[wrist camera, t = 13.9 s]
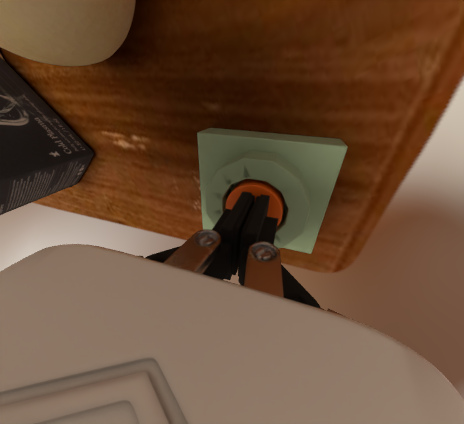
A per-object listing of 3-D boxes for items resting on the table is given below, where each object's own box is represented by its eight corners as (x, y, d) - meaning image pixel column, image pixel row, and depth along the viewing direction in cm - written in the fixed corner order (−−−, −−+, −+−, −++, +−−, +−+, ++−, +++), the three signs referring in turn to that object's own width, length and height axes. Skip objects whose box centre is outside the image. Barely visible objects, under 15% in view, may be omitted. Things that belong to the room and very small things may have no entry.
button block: (212, 217, 19) (192, 243, 15) (209, 127, 14) (182, 137, 11) (310, 236, 16) (312, 272, 13) (341, 138, 12) (356, 155, 9)
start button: (232, 216, 15) (224, 229, 13) (234, 171, 13) (225, 180, 11) (279, 225, 14) (277, 240, 12) (289, 179, 12) (287, 190, 11)
